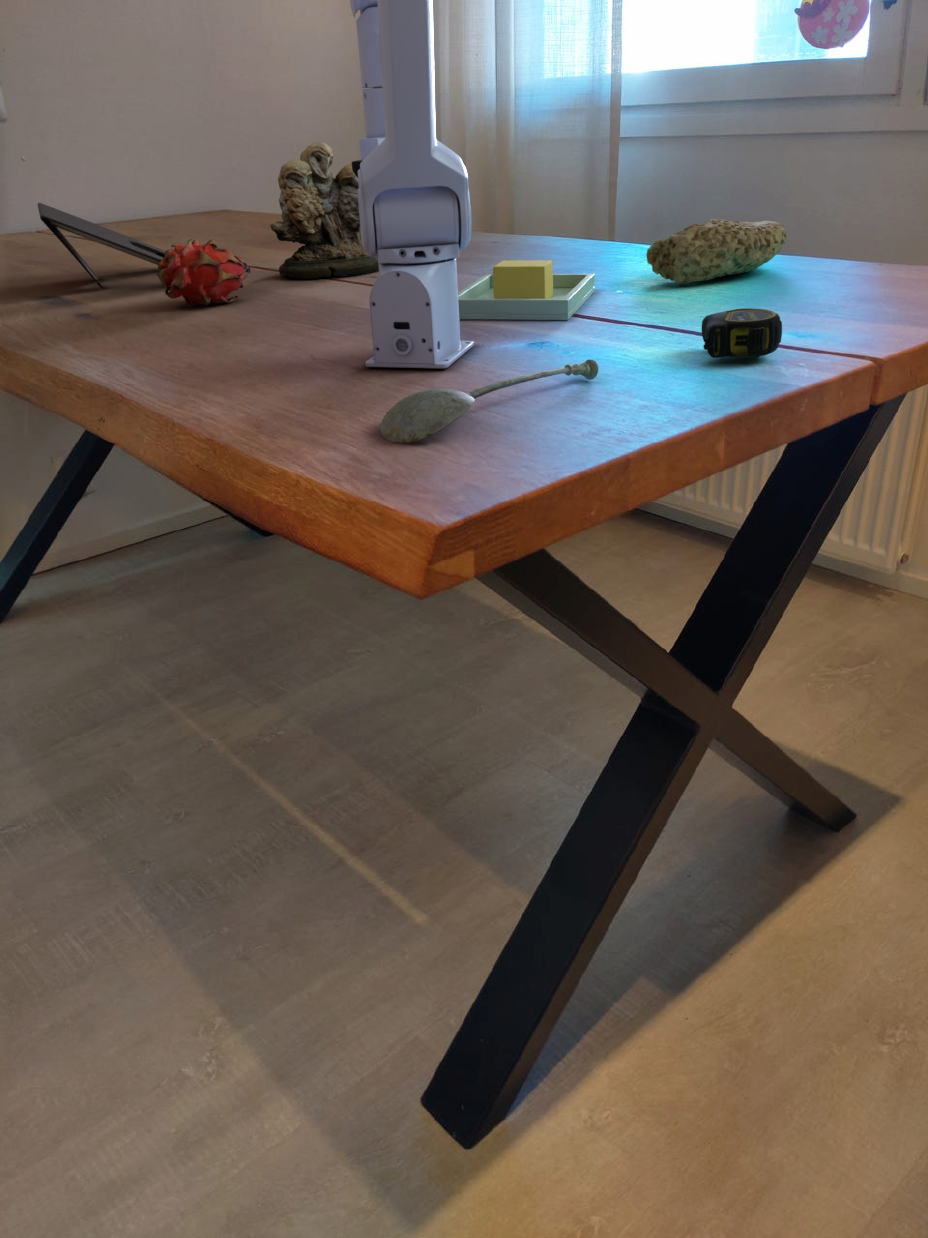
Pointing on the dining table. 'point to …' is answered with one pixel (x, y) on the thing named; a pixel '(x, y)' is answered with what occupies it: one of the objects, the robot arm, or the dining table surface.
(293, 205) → the owl figurine
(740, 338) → the tape measure
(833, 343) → the dining table surface
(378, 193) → the robot arm
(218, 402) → the dining table surface
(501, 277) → the yellow block
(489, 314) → the tray
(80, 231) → the laptop tray
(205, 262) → the dragon fruit
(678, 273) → the sponge
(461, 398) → the soupspoon
